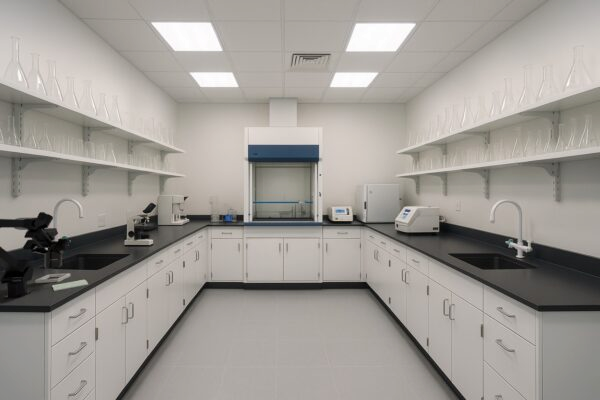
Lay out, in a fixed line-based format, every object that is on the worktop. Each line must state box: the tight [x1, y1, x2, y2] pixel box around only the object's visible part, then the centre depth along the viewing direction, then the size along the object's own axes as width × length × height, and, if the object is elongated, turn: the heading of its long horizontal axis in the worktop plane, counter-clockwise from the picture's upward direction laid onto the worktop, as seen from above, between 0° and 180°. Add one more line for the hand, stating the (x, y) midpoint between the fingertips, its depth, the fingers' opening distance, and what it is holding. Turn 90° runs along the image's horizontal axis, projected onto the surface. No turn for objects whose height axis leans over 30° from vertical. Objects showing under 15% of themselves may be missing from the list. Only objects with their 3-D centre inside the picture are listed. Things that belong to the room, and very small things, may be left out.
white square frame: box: [35, 273, 71, 284], centre depth 152 cm, size 10×10×2 cm
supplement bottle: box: [44, 246, 63, 269], centre depth 151 cm, size 7×7×12 cm
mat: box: [51, 279, 89, 292], centre depth 142 cm, size 13×10×1 cm
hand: (55, 253), depth 153 cm, fingers closed on supplement bottle, 7 cm apart
